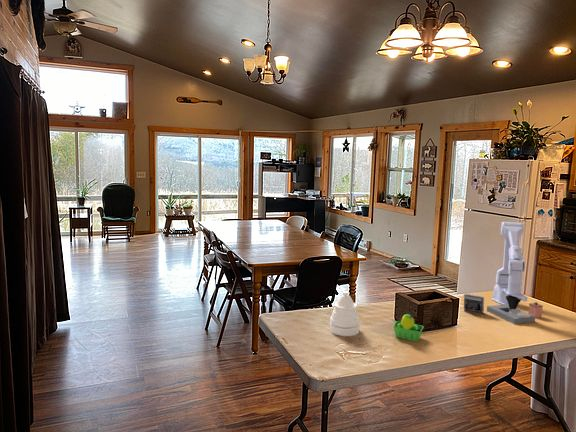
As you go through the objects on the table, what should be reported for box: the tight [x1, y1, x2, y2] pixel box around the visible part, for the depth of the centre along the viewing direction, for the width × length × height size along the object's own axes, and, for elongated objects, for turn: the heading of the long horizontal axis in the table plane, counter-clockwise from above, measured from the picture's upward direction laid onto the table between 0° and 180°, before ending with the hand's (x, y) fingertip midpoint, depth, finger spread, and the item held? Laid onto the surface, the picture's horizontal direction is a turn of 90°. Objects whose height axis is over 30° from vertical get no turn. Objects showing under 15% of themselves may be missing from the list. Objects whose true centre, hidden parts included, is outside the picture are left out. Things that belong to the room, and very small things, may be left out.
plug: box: [527, 301, 544, 319], centre depth 214 cm, size 4×4×7 cm
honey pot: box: [329, 290, 360, 337], centre depth 192 cm, size 13×13×18 cm
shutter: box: [509, 307, 530, 318], centre depth 208 cm, size 6×6×2 cm
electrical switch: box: [463, 292, 485, 315], centre depth 218 cm, size 9×5×9 cm, turn 57°
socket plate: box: [486, 304, 536, 325], centre depth 213 cm, size 18×12×2 cm, turn 16°
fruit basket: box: [392, 313, 424, 342], centre depth 185 cm, size 11×9×11 cm
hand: (512, 311), depth 212 cm, fingers closed
